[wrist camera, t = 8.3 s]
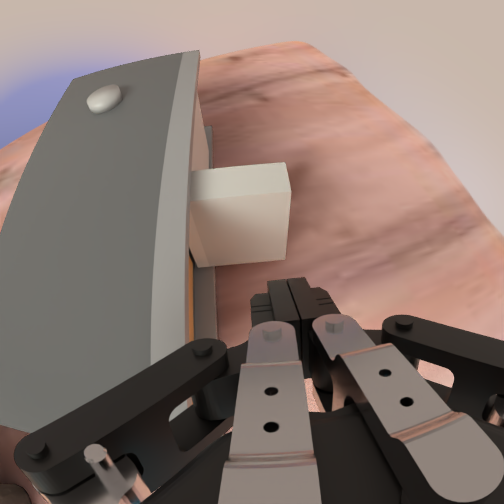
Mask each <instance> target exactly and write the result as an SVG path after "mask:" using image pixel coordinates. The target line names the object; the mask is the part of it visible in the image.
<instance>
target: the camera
mask: <svg viewBox="0 0 504 504" xmlns="http://www.w3.org/2000/svg"><path fill="white" fill-rule="evenodd" d="M0 504H31V501H30V499H29V496H28V494H27V492H26V491H25V490H24V489H23V488H22V487H20V486H18V485H16V484H0Z"/></svg>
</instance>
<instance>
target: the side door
mask: <svg viewBox="0 0 504 504" xmlns="http://www.w3.org/2000/svg"><path fill="white" fill-rule="evenodd" d="M290 202H291V187H290V182H289V177H288V173H287V168H286V163H285V162H281V163H268V164H255V165H244V166H234V167H224V168H215V169H209V149H208V144H207V139H206V134H205V129H204V124H203V119H202V113H201V108H200V103H199V98H198V92H197V97H196V109H195V122H194V136H193V152H192V170H191V192H190V220H189V248H190V250H191V253H192V255H193V257H194V260H195V262H196V264H197V267H198V268H200V267H211V266H222V265H233V264H244V263H255V262H265V261H276V260H285V257H286V247H287V236H288V225H289V214H290Z"/></svg>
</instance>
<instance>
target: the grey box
mask: <svg viewBox="0 0 504 504" xmlns="http://www.w3.org/2000/svg"><path fill="white" fill-rule="evenodd" d="M199 65H200V52H199V50H196V51H189V52H183V53H177V54H171V55H165V56H160V57H156V58H150V59H146V60H141V61H137V62H132V63H128V64H124V65H120V66H117V67H113V68H109V69H105V70H101V71H98V72H95V73H91V74H88V75H85V76H82V77H79V78H75V79H73V80H72V82H71V83H70V85H69V87H68V88H67V90H66V91H65V93H64V95H63V96H62V98H61V100H60V101H59V103H58V105H57V107H56V108H55V110H54V112H53V114H52V115H51V117H50V119H49V121H48V123H47V124H46V126H45V128H44V130H43V132H42V134H41V136H40V138H39V140H38V142H37V144H36V146H35V148H34V150H33V152H32V154H31V156H30V159H29V161H28V163H27V165H26V167H25V170H24V172H23V174H22V177H21V179H20V181H19V184H18V186H17V189H16V191H15V194H14V196H13V199H12V201H11V204H10V207H9V209H8V212H7V215H6V218H5V221H4V224H3V227H2V230H1V233H0V425H3V426H6V427H9V428H13V429H17V430H20V431H24V432H28V433H33V432H35V431H36V430H38V429H40V428H42V427H44V426H46V425H48V424H49V423H51V422H53V421H55V420H57V419H59V418H60V417H62V416H64V415H66V414H68V413H70V412H71V411H73V410H75V409H77V408H79V407H80V406H82V405H84V404H86V403H87V402H89V401H91V400H93V399H94V398H96V397H98V396H100V395H101V394H103V393H105V392H107V391H108V390H110V389H112V388H114V387H115V386H117V385H119V384H120V383H122V382H124V381H126V380H127V379H129V378H131V377H132V376H134V375H136V374H137V373H139V372H141V371H143V370H144V369H146V368H148V367H149V366H151V365H153V364H154V363H156V362H158V361H159V360H161V359H163V358H164V357H166V356H167V355H169V354H171V353H172V352H174V351H176V350H177V349H179V348H181V347H182V346H184V345H185V344H187V343H189V342H191V341H194V340H197V339H203V338H213V339H218V333H217V312H216V288H215V266H211V267H200V268H198V267H197V264H196V262H195V260H194V257H193V255H192V253H191V250H190V248H189V220H190V192H191V170H192V152H193V136H194V122H195V109H196V97H197V86H198V75H199ZM204 129H205V134H206V139H207V144H208V149H209V169H213V130H212V126H204ZM192 404H193V402H192V398H191V397H190V398H188V399H187V400H186V401H184V402H183V403H182V404H180V405H179V406H177V407H176V408H175V409H174V410H173V411H172V413H171V415H170V418H169V421H171V420H172V419H173V418H175V417H176V416H178V415H179V414H180V413H182V412H183V411H184V410H186V409H187V408H188V407H190V406H191V405H192ZM223 435H224V434H223ZM223 435H222V436H223Z"/></svg>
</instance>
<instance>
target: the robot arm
mask: <svg viewBox="0 0 504 504" xmlns="http://www.w3.org/2000/svg"><path fill="white" fill-rule="evenodd" d="M267 286H268V293H262V294H255V295H254V296H253V298H252V299H251V300H250V302H251V320H252V329H251V330H250V333H249V340H248V341H246V342H245V343H243V344H241V345H239V346H236V347H232V348H229V349H227V347H226V345H225V343H224V342H222V341H220V340H218V339H213V338H203V339H197V340H194V341H191V342H189V343H187V344H185V345H184V346H182V347H181V348H179V349H177V350H176V351H174V352H172V353H171V354H169V355H167V356H166V357H164V358H163V359H161V360H159V361H158V362H156V363H154V364H153V365H151V366H149V367H148V368H146V369H144V370H143V371H141V372H139V373H137V374H136V375H134V376H132V377H131V378H129V379H127V380H126V381H124V382H122V383H120V384H119V385H117V386H115V387H114V388H112V389H110V390H108V391H107V392H105V393H103V394H101V395H100V396H98V397H96V398H94V399H93V400H91V401H89V402H87V403H86V404H84V405H82V406H80V407H79V408H77V409H75V410H73V411H71V412H70V413H68V414H66V415H64V416H62V417H60V418H59V419H57V420H55V421H53V422H51V423H49V424H48V425H46V426H44V427H42V428H40V429H38V430H36V431H35V432H33V433H31V434H29V435H27V436H26V437H24V438H23V439H22V440H21V441H20V442H19V443H18V444H17V446H16V448H15V451H14V460H15V462H16V464H17V466H18V467H19V468H20V469H21V471H22V472H23V473H24V474H25V475H26V477H27V478H28V479H29V480H30V481H31V483H32V485H33V487H34V488H35V489H36V490H37V491H38V493H39V494H40V495H41V496H42V497H43V498H44V499H45V500H46V501H47V502H48V503H49V504H504V341H502V340H499V339H495V338H491V337H487V336H484V335H480V334H476V333H472V332H469V331H465V330H461V329H458V328H454V327H450V326H447V325H443V324H439V323H436V322H432V321H429V320H425V319H421V318H418V317H414V316H410V315H394V316H391V317H388V318H387V319H385V320H384V321H383V324H382V330H364V329H362V328H361V327H360V326H359V324H358V323H357V322H356V321H355V320H354V319H353V318H351V317H349V316H347V315H342V314H341V313H340V312H339V310H338V308H337V307H336V305H335V303H334V302H333V300H332V299H331V297H330V295H329V294H328V292H327V291H325V290H323V289H321V288H320V287H316V288H310V286H309V284H308V282H307V280H306V278H305V277H301V278H291V279H287V280H286V279H282V280H273V281H267ZM420 359H421V360H424V361H427V362H430V363H433V364H436V365H439V366H442V367H445V368H447V369H449V370H450V371H451V372H452V373H453V375H454V383H453V386H452V388H450V387H447V386H444V385H441V384H438V383H435V382H432V381H429V380H426V379H424V378H423V377H422V376H421V375H420V374H419V373H418V372H417V370H418V365H419V360H420ZM307 378H312V381H313V396H314V399H315V401H316V403H317V406H318V408H319V411H320V412H308V405H307V397H306V390H305V383H304V379H307ZM496 394H497V395H496ZM190 397H191V398H192V402H193V404H192V405H191V406H190V407H188V408H187V409H186V410H184V411H183V412H182V413H180V414H179V415H178V416H176V417H175V418H173V419H172V420H171V421H169V418H170V415H171V413H172V411H173V410H174V409H175V408H176V407H177V406H179V405H180V404H182V403H183V402H184V401H186V400H187V399H188V398H190ZM232 426H233V430H232V431H231V432H229V433H227V434H225V435H223V434H224V433H226V432H227V431H228V430H229V429H230V428H231V427H232ZM222 435H223V436H222ZM160 486H161V487H160ZM159 487H160V488H159ZM156 489H157V490H156ZM155 490H156V491H155ZM154 491H155V492H154ZM152 492H153V493H152ZM151 493H152V494H151Z"/></svg>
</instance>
